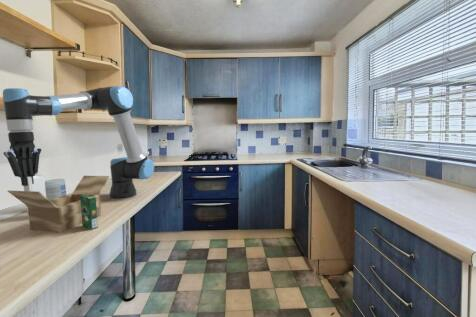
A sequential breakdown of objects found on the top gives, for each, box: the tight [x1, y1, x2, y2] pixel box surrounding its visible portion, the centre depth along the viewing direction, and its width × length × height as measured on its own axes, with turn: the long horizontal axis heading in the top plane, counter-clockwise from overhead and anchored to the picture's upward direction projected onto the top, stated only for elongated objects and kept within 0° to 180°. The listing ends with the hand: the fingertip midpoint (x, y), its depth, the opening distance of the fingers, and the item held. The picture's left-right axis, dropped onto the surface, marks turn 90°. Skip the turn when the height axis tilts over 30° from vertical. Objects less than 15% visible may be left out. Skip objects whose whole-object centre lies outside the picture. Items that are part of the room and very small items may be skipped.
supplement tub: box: [44, 178, 67, 200], centre depth 150 cm, size 10×10×15 cm
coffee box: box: [80, 195, 99, 230], centre depth 118 cm, size 8×3×13 cm, turn 54°
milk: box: [25, 173, 46, 219], centre depth 135 cm, size 6×6×22 cm
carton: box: [28, 192, 102, 233], centre depth 126 cm, size 22×16×10 cm
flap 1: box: [7, 190, 58, 208], centre depth 111 cm, size 10×15×1 cm
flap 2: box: [72, 175, 110, 195], centre depth 139 cm, size 10×15×1 cm
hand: (29, 193), depth 109 cm, fingers closed
